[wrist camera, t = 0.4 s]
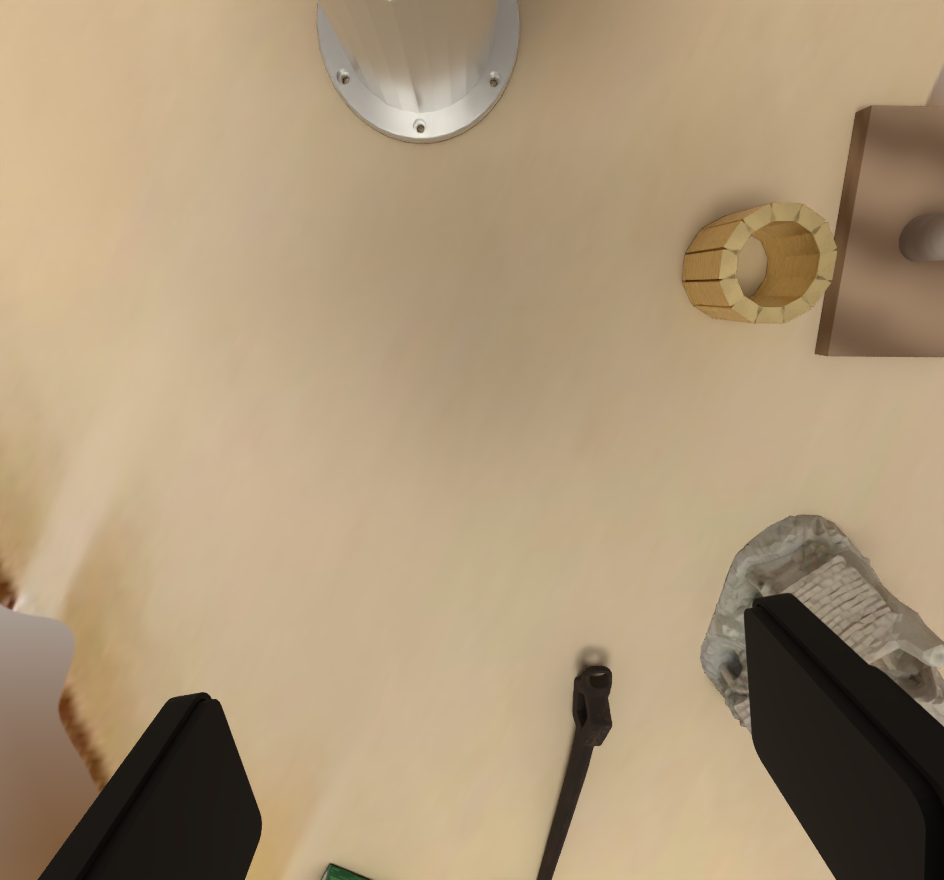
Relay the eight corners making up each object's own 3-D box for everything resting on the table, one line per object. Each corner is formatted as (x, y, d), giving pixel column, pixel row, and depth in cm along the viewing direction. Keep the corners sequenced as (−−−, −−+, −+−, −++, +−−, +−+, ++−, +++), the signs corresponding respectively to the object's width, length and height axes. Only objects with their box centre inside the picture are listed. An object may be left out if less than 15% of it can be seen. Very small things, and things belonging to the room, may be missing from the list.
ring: (688, 214, 39) (728, 202, 33) (788, 216, 39) (845, 203, 33) (678, 317, 41) (713, 323, 35) (773, 319, 41) (824, 324, 35)
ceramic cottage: (840, 493, 44) (1007, 609, 30) (892, 646, 49) (1058, 809, 35) (655, 569, 47) (728, 709, 33) (720, 708, 51) (809, 883, 37)
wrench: (486, 878, 57) (550, 641, 47) (535, 880, 58) (607, 647, 48) (491, 938, 52) (563, 688, 43) (544, 940, 53) (627, 694, 43)
